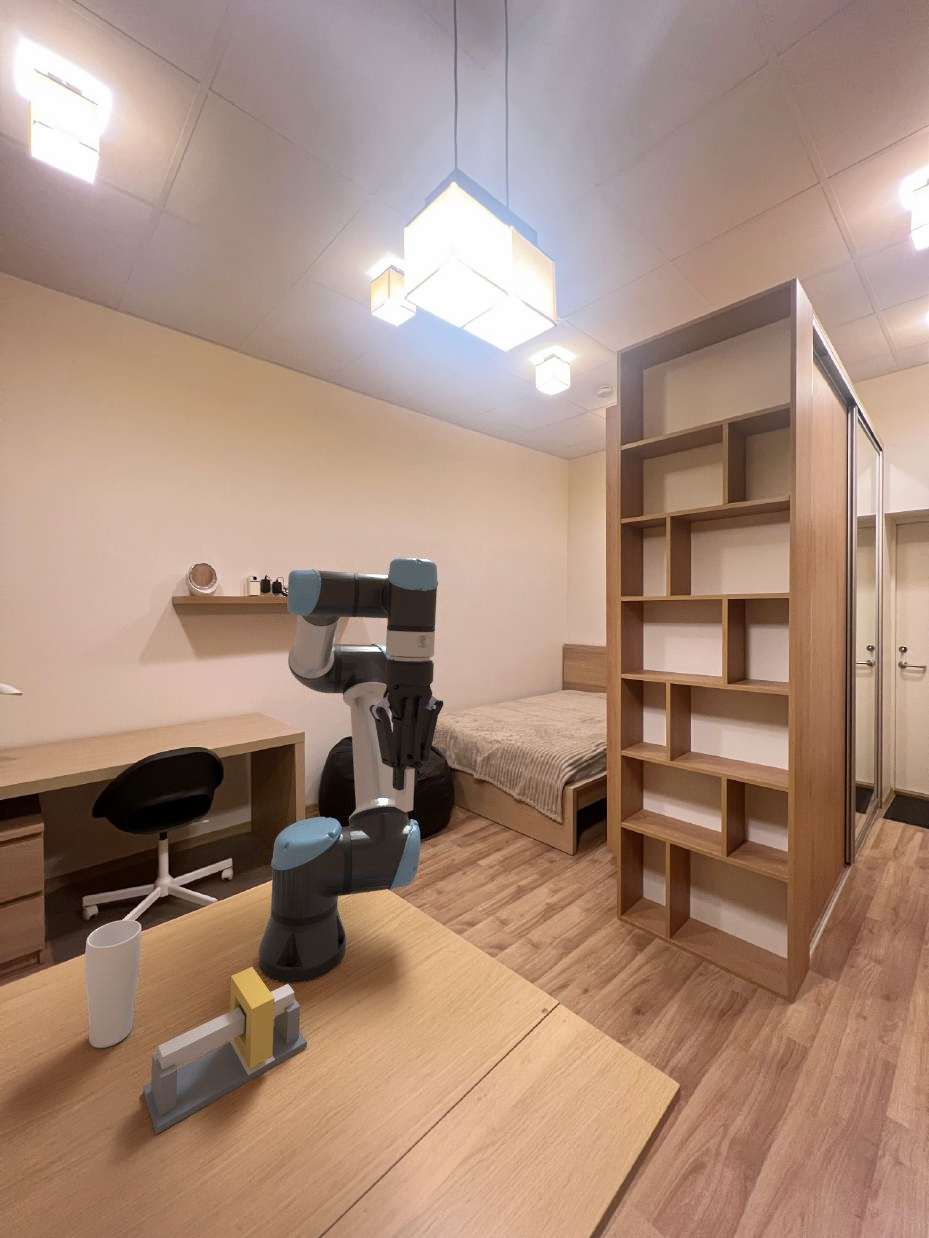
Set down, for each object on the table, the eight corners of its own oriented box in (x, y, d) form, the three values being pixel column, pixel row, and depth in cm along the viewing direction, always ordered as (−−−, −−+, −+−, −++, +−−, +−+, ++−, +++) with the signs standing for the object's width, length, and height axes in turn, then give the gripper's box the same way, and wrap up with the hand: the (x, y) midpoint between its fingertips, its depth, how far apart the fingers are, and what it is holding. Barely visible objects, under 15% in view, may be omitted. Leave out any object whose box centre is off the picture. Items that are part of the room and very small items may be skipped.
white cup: (149, 1027, 76) (152, 927, 76) (100, 1062, 70) (104, 953, 70) (120, 1010, 79) (123, 914, 79) (71, 1043, 73) (74, 938, 73)
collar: (229, 1030, 74) (231, 975, 74) (250, 1020, 76) (252, 966, 76) (249, 1068, 68) (252, 1008, 68) (272, 1055, 70) (274, 997, 70)
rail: (143, 1092, 66) (145, 1036, 66) (285, 1017, 79) (287, 970, 79) (156, 1134, 61) (158, 1073, 61) (306, 1046, 74) (308, 997, 74)
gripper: (389, 662, 73) (382, 826, 73) (456, 659, 82) (450, 806, 82) (360, 657, 79) (355, 810, 79) (427, 655, 87) (421, 792, 88)
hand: (403, 808), depth 81 cm, fingers closed
